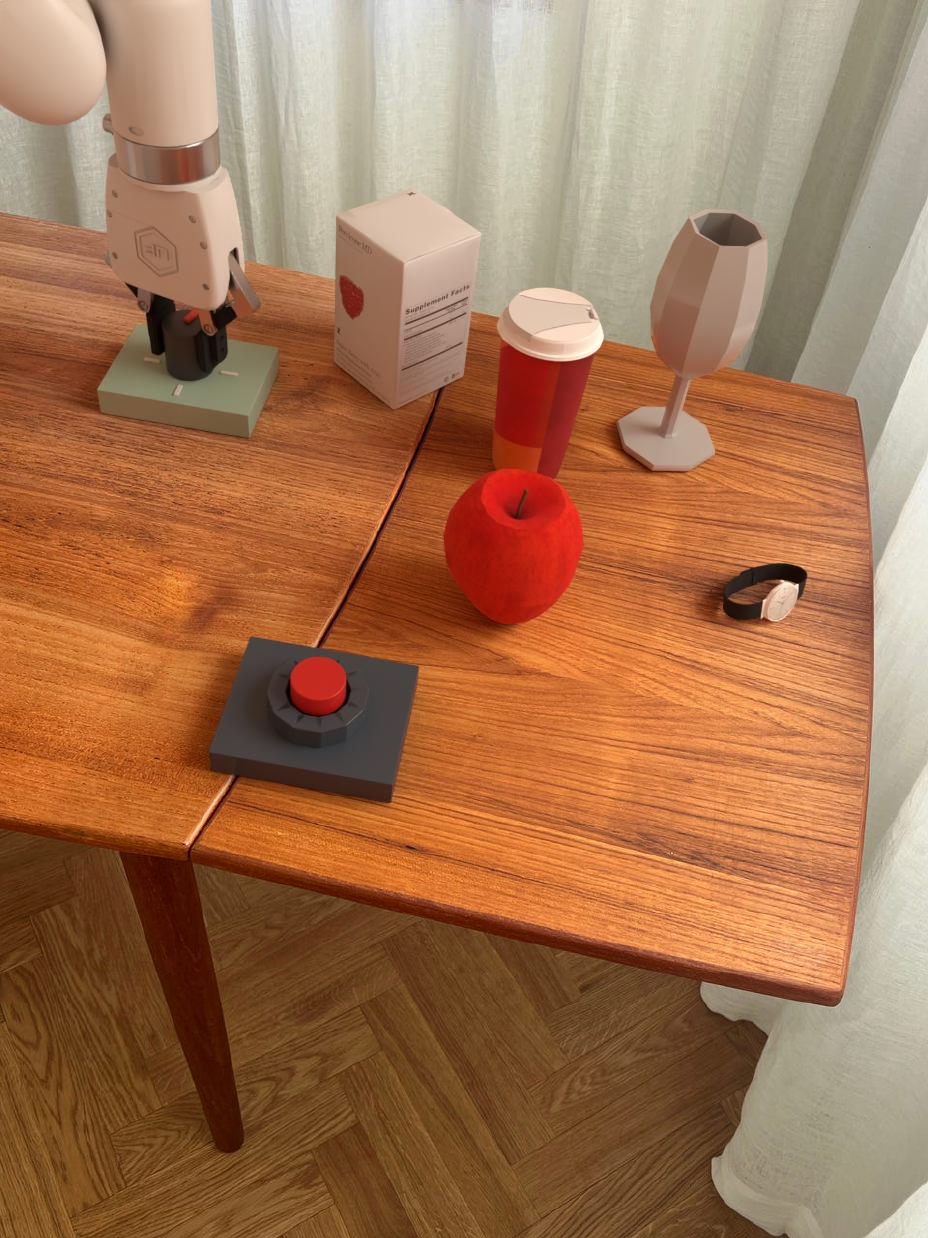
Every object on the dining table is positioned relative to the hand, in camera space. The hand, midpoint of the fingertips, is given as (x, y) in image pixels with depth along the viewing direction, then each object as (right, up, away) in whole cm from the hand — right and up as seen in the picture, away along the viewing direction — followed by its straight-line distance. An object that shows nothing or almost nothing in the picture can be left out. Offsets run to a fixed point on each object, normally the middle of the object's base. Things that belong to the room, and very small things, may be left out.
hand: (189, 353), depth 95 cm
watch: (+47, -22, -7) cm, 52 cm away
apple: (+26, -22, -10) cm, 36 cm away
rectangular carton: (+17, 0, +8) cm, 19 cm away
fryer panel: (0, -3, +3) cm, 4 cm away
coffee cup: (+29, -9, +1) cm, 30 cm away
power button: (+14, -28, -22) cm, 38 cm away
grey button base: (+14, -30, -19) cm, 38 cm away
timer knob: (0, -1, +1) cm, 1 cm away
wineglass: (+41, -7, +5) cm, 42 cm away
